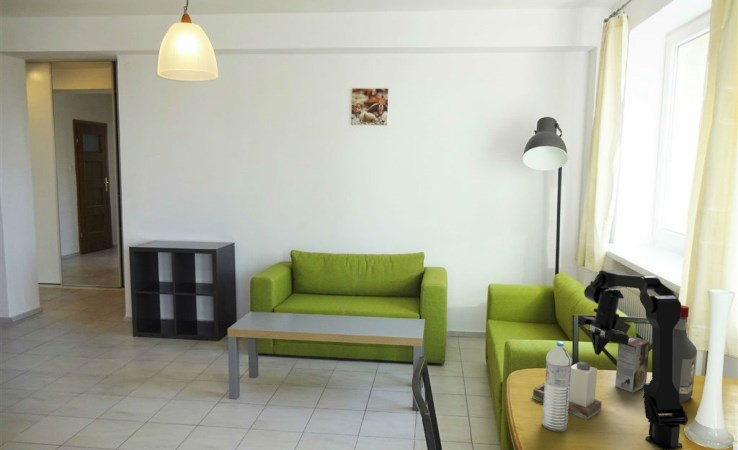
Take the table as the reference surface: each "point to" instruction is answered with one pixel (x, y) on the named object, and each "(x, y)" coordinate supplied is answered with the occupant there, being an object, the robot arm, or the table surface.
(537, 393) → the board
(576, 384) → the white juice carton
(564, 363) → the water bottle
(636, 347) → the coffee box
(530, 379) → the table surface
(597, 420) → the table surface
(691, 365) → the liquor
